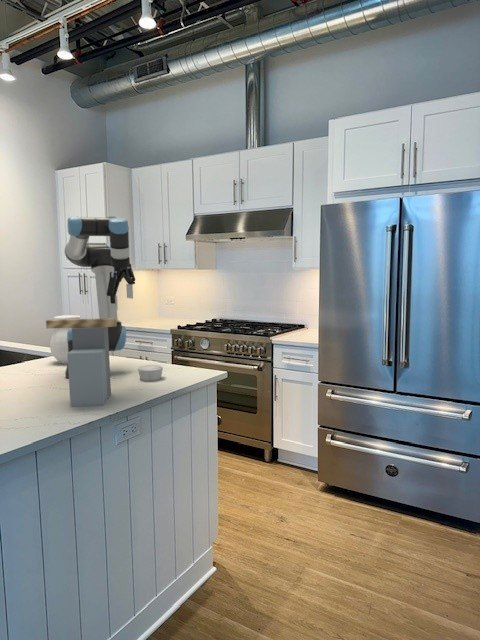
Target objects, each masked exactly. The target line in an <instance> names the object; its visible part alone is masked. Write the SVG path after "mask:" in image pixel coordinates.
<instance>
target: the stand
mask: <svg viewBox="0 0 480 640" xmlns="http://www.w3.org/2000/svg"><path fill="white" fill-rule="evenodd" d="M72 342H73V350H71V351H70V352H69V353H67V356H68V373H69V379H68V386H69V387H68V388H69V404H70V407H82V406H83V407H86V406H87V407H90V406H91V407H92V406H104V405H105V404H106V402H107V401H108V399H109V397H110V395H111V394H112V389H111V386H112V385H111V369H110V368H111V367H110V351H109V340H108V327H88V328H72Z"/></svg>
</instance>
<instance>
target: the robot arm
mask: <svg viewBox="0 0 480 640" xmlns="http://www.w3.org/2000/svg"><path fill="white" fill-rule="evenodd" d="M129 229H130V227H129V221H128V220H127V219H126V218H123V217H117V216H113V215H109V216H107V217H93V216H92V217H88V216H69V217H67V233H68V235H69V241H68V242H67V243H66V244H65V247H64V256H65V258H66V259H67V261H69V262H70V263H72V264H73V265H75V266H78V267H82V268H90V270H91V272H92V273H93V274H94V278H95V289H96V298H97V309H98V319H106V318H117V326H116V327H108V340H109V352H115V351H122V350H123V349H124V348H125V346H126V340H127V330H126V326H125V325H122V321H121V320H119V319H118V317H119V316H118V309H119V307H118V305H119V304H118V295H117V293H118V289H119V285H120V284H121V283H120V282H122V280H123V279H124V280H125V282H126V284H125V288H126V289H125V290H126V299H134V290H133V289H134V286H133V285H135V284H136V282H135V281H136V278H135V277H136V276H135V274H134V271H133V269H132V263H130V262H131V261H130V235H129ZM90 237H109V242H107V243H106V242H100V243H99V242H88V241H89V238H90ZM67 341H68V353H69V352H70V351H71V350H73V342H72V329H70V330H69V331H68V332H67ZM64 373H65V374H64V375H65V378H66V379H68V380H69V373H68V364H66V369H65V372H64Z"/></svg>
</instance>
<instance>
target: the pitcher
mask: <svg viewBox="0 0 480 640" xmlns="http://www.w3.org/2000/svg"><path fill="white" fill-rule="evenodd" d="M81 317H82V316H80V315H78V314H64V315H63V314H62V315H56V316H54V317H53V320H64V319H81ZM70 329H72V328H51V330H53V333H52V335H51V338H50V343H49V347H50V348H49V349H50V353H51V355H52V356H53V357H54V359H55V360H56V361H58V362H59V363H61V364H62V365H67V364H68V356H67V353H68V341H67V332H68V331H69V330H70Z"/></svg>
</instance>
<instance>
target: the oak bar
mask: <svg viewBox="0 0 480 640" xmlns="http://www.w3.org/2000/svg"><path fill="white" fill-rule="evenodd" d="M45 326H46V327H45V328H46V329H52V328H56V329H57V328H88V327H116V326H117V318H106V319H99V318H80V319H64V320H54V319H47V320H45Z"/></svg>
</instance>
